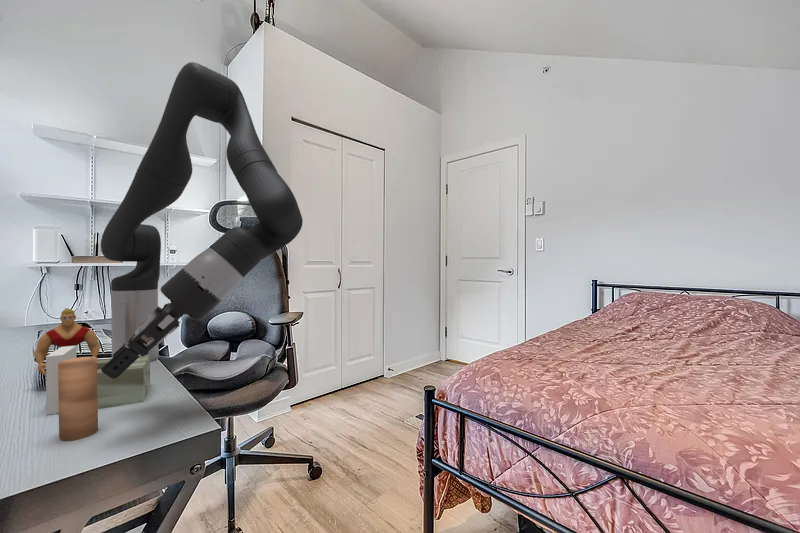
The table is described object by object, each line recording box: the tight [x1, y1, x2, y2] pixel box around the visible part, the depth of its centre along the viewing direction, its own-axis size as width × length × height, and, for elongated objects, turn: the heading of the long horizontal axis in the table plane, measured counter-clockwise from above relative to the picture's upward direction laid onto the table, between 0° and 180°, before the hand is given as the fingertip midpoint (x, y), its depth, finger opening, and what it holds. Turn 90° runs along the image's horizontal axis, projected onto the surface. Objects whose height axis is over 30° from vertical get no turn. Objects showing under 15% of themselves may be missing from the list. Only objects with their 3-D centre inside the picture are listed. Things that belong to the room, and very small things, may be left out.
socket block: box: [97, 355, 151, 410], centre depth 64 cm, size 10×10×6 cm
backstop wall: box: [45, 346, 78, 416], centre depth 60 cm, size 8×2×9 cm, turn 30°
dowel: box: [58, 356, 99, 442], centre depth 50 cm, size 4×4×10 cm
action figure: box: [33, 307, 101, 376], centre depth 71 cm, size 10×4×15 cm, turn 129°
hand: (113, 367), depth 52 cm, fingers open, 8 cm apart
